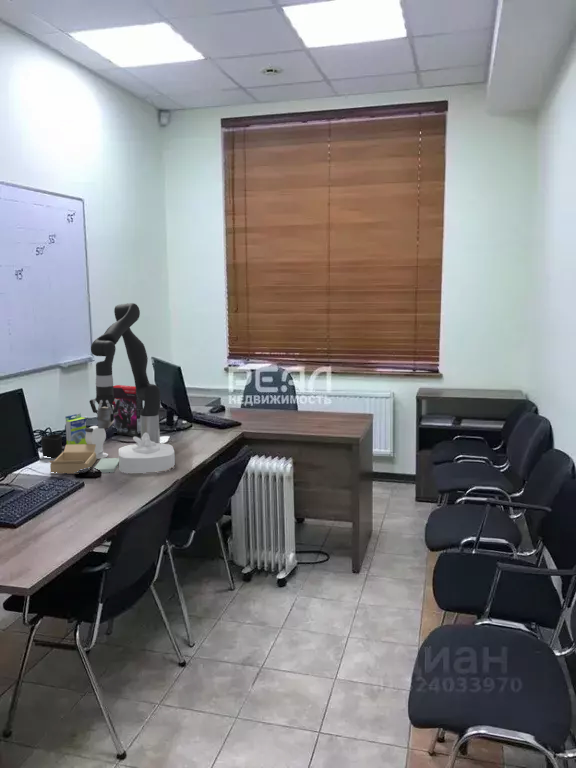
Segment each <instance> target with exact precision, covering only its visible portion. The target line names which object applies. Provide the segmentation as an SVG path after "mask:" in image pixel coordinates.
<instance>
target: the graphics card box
mask: <svg viewBox="0 0 576 768" xmlns="http://www.w3.org/2000/svg"><path fill="white" fill-rule="evenodd" d="M113 394H114V398H115V399H120V400H121V401H120V405H119V409H118V411H117V412H116V413H114V423H113V424H112V427H113V426H114V427H116V429H117V434H116V435H121V436H123V435H124V436H130V437H134V436H135V437H141V424H140V410H141V409H143V408H144V405H143V404H144V403H143V402H144V401H143V400H141V399H139V397H138V395H137V392H136V387H135V385H134V386H133V385H122V384H116V385H113ZM112 405H113V407H114V410H115V407H116V404H115V401H114V402H113V403H112Z"/></svg>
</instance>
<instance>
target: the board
mask: <svg viewBox="0 0 576 768" xmlns="http://www.w3.org/2000/svg"><path fill="white" fill-rule="evenodd" d="M117 466H118V467H119V457H112V458H111V457H109V458H108V457H105V458H101V459H99V461H98V462H97V464H95V466H94V468H96V469H98V470H100V471H101V472H102V473H103V474H105V473H106V474H107V473H109V472H110V473H115V471H116V470H117V468H118V467H117ZM115 469H116V470H115ZM110 473H109V474H110Z"/></svg>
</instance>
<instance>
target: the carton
mask: <svg viewBox="0 0 576 768" xmlns="http://www.w3.org/2000/svg"><path fill="white" fill-rule="evenodd" d="M95 447H96V444H74V445H67V444H65V447H64V450H63V451H62V453H61V454H60V455H59V456H58V457H57V458H54V460H49V461H48V462H49V463H50V466H49V467H50V473H51V472H54V473H56V472H57V473H67V474H75V473H74V472H77V471H79V470H80V469H84V468H88V467H91V468H92V467H93V466H94V464H95V463H96V462H97V459H96V453H95V452H94V451H95Z"/></svg>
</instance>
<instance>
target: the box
mask: <svg viewBox="0 0 576 768" xmlns="http://www.w3.org/2000/svg"><path fill="white" fill-rule="evenodd" d="M64 419H65V429H66V430H65V433H66V445H74V444H87V443H86V440H85V436H86V432H85V428H87V418H86V417H82V414H81V412H80V413H79V412H78V413H75V414H72V415H71V414H70V415H67V416H65V418H64Z"/></svg>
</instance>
